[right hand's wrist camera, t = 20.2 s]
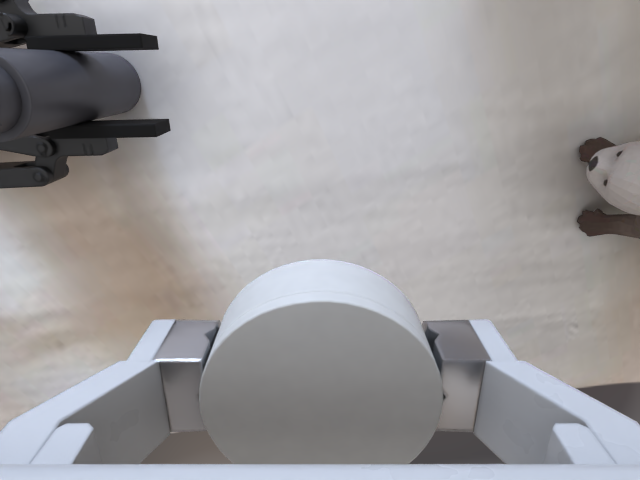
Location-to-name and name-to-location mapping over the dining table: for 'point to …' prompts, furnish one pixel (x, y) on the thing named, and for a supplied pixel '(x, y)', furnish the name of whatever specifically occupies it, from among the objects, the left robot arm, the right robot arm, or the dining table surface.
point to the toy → (613, 186)
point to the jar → (61, 89)
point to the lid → (321, 371)
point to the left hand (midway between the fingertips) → (155, 86)
